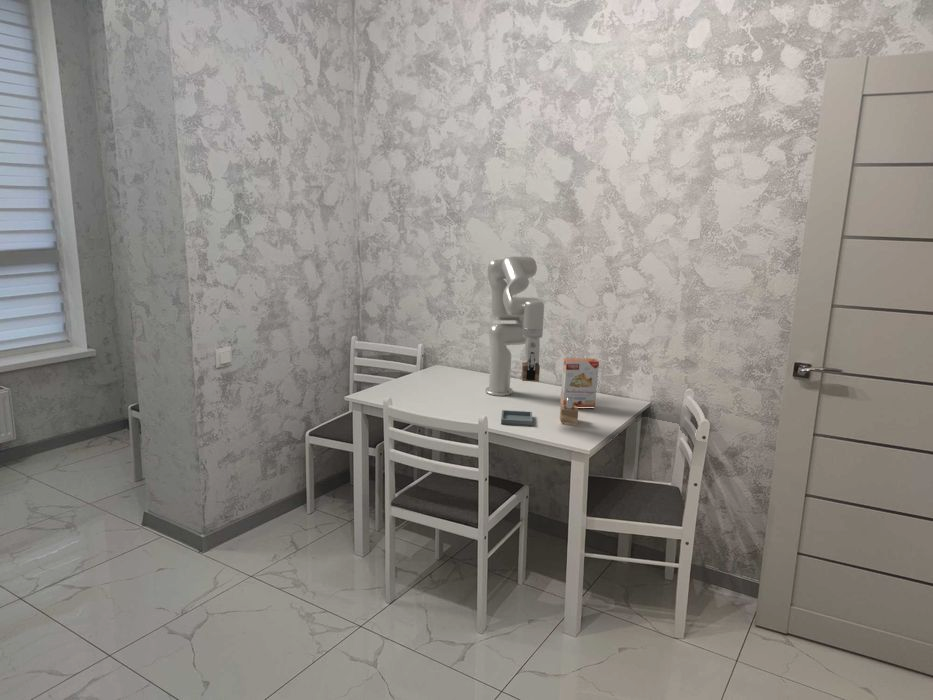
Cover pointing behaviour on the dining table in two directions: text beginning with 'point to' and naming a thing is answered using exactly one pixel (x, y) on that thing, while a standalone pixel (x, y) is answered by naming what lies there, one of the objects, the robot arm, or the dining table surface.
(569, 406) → the steel pin
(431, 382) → the dining table surface
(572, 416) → the oak block
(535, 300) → the robot arm
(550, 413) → the dining table surface
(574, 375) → the cracker box
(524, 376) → the walnut block
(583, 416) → the dining table surface
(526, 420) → the tray
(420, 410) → the dining table surface
